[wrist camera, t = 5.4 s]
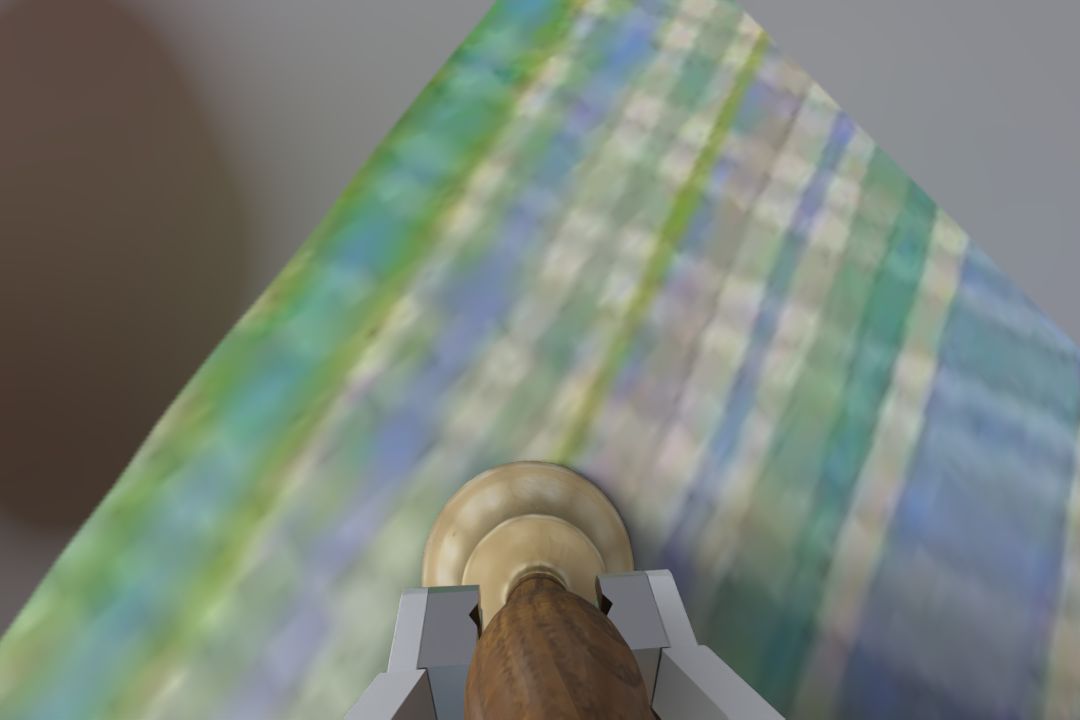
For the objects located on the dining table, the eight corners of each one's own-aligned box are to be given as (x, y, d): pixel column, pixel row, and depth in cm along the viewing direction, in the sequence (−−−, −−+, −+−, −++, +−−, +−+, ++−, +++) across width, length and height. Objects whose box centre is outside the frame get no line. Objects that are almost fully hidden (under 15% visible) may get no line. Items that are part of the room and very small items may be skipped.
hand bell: (629, 696, 19) (1166, 1572, 3) (406, 679, 18) (-102, 1541, 3) (636, 470, 21) (974, 382, 6) (438, 452, 21) (235, 310, 5)
